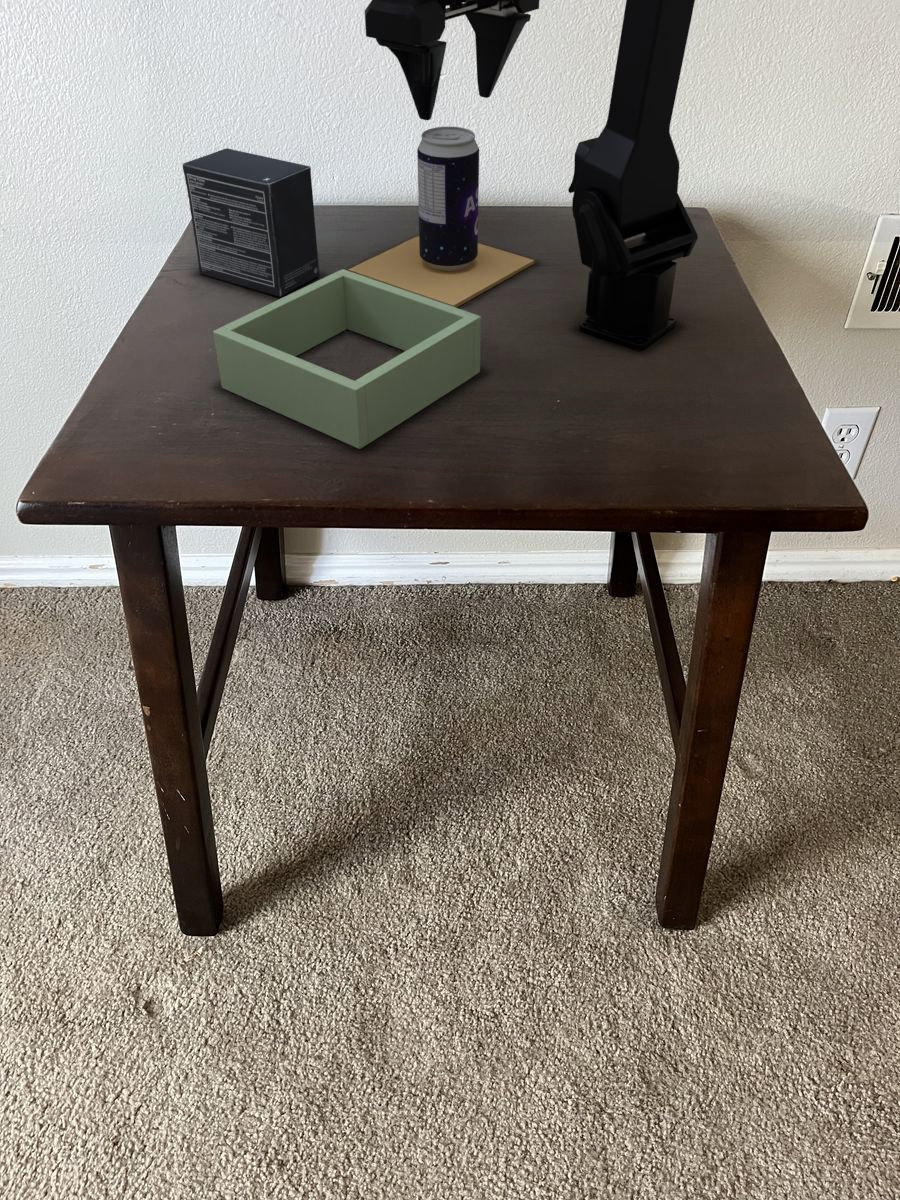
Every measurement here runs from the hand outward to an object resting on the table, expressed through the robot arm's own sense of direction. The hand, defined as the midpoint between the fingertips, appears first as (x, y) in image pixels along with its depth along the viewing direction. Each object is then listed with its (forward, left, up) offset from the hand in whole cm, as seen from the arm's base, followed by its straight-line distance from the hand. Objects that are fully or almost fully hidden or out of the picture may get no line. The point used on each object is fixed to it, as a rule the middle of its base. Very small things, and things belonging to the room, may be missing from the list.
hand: (455, 107), depth 99 cm
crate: (-11, +28, -13) cm, 33 cm away
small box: (+10, +18, -13) cm, 24 cm away
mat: (-3, +6, -13) cm, 15 cm away
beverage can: (-3, +5, -13) cm, 14 cm away
